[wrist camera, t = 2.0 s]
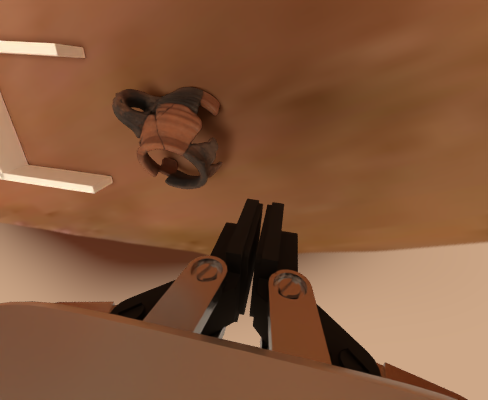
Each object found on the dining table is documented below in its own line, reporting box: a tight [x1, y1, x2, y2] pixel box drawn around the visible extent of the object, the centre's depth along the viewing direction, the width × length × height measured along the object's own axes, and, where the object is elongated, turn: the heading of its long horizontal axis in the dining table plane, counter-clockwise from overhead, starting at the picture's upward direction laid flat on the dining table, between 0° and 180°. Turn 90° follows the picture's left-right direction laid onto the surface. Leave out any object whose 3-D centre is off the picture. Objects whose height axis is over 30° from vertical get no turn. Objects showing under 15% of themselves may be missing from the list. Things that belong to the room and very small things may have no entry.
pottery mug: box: [112, 87, 222, 189], centre depth 26 cm, size 12×10×8 cm
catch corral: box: [0, 41, 113, 193], centre depth 29 cm, size 16×14×4 cm
